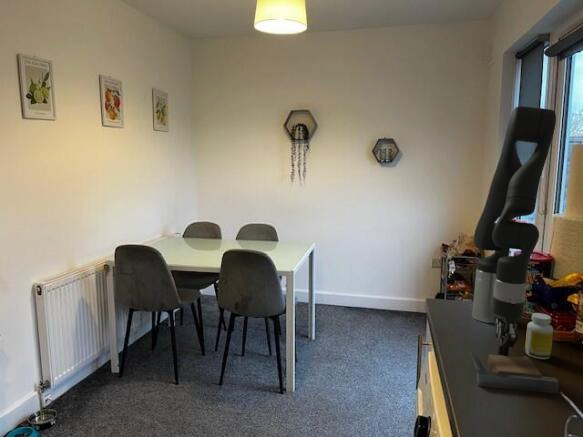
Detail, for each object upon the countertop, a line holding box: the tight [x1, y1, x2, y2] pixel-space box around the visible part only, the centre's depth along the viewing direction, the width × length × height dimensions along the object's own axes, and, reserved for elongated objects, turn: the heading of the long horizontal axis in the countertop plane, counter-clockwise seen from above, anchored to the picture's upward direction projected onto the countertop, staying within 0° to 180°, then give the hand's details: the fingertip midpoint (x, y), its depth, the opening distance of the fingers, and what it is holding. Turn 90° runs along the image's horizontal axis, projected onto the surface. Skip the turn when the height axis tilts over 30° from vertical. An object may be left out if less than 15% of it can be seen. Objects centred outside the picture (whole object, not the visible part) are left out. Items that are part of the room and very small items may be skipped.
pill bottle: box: [524, 312, 554, 360], centre depth 124 cm, size 6×6×12 cm
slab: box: [486, 353, 543, 376], centre depth 113 cm, size 9×10×4 cm
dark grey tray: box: [469, 351, 560, 394], centre depth 114 cm, size 16×18×3 cm
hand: (502, 357), depth 119 cm, fingers closed
